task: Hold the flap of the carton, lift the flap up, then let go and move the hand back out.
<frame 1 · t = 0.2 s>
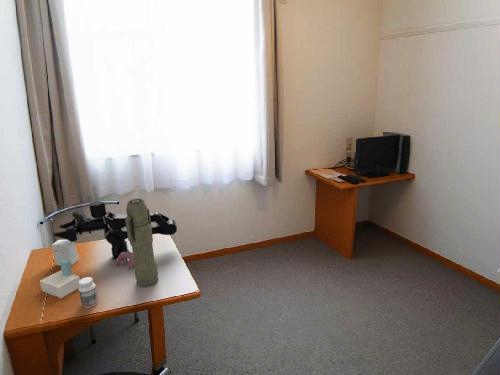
hand: (56, 230, 158), 17 cm above the table, tool horizontal, fingers open, 9 cm apart
pill bottle: (90, 304, 131), on the table
olive tall rounded piece: (147, 281, 145), on the table
small box: (67, 262, 164), on the table
flap: (58, 272, 140), point 7 cm above the table, hinge at 0.0°
video game controller: (127, 265, 159), on the table
carton: (61, 288, 142), on the table
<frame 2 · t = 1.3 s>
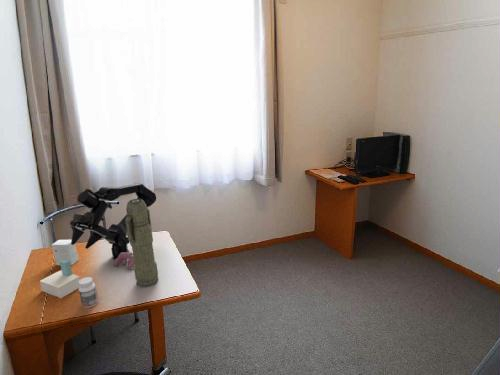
hand: (79, 246, 148), 14 cm above the table, tool tilted 45°, fingers open, 9 cm apart
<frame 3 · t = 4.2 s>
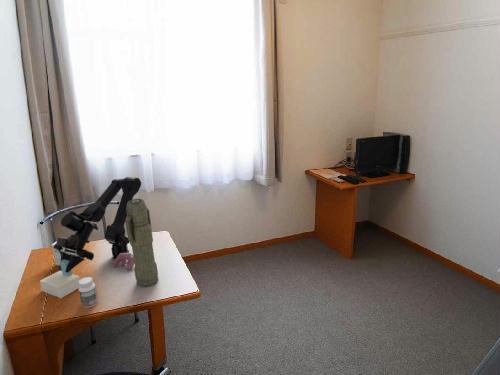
hand: (63, 271, 142), 7 cm above the table, tool tilted 45°, fingers closed on flap, 3 cm apart
flap: (58, 272, 140), point 7 cm above the table, hinge at 0.0°, touching gripper
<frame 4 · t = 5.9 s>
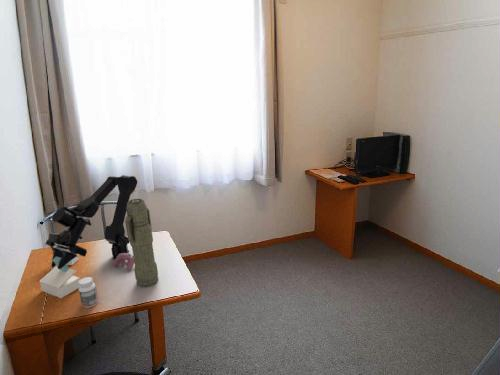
hand: (55, 267, 139), 10 cm above the table, tool tilted 45°, fingers closed on flap, 3 cm apart
flap: (54, 271, 139), point 9 cm above the table, hinge at 20.1°, touching gripper
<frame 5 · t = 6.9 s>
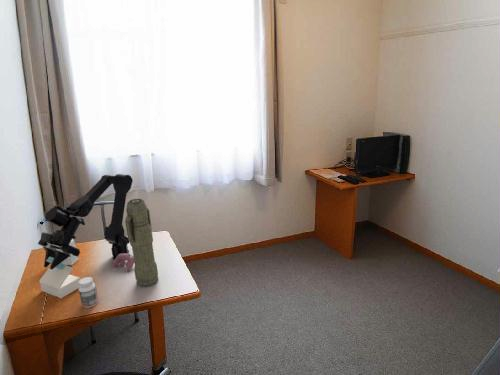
hand: (48, 268, 136), 11 cm above the table, tool tilted 45°, fingers closed on flap, 3 cm apart
flap: (50, 271, 137), point 9 cm above the table, hinge at 34.9°, touching gripper
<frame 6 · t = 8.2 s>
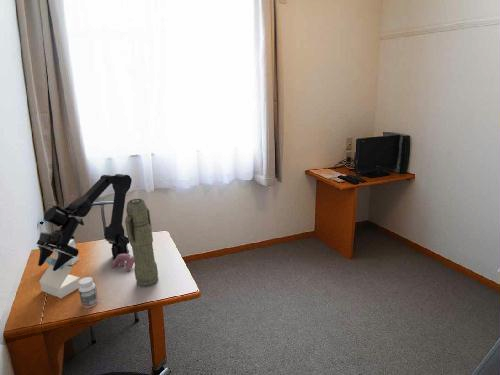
hand: (46, 268, 136), 11 cm above the table, tool tilted 45°, fingers open, 9 cm apart
flap: (49, 271, 137), point 9 cm above the table, hinge at 37.7°
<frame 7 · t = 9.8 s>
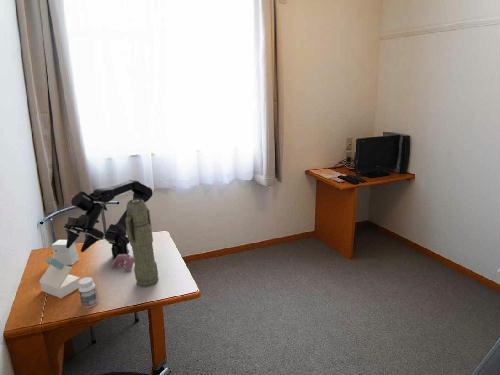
hand: (74, 249, 146), 13 cm above the table, tool tilted 45°, fingers open, 9 cm apart
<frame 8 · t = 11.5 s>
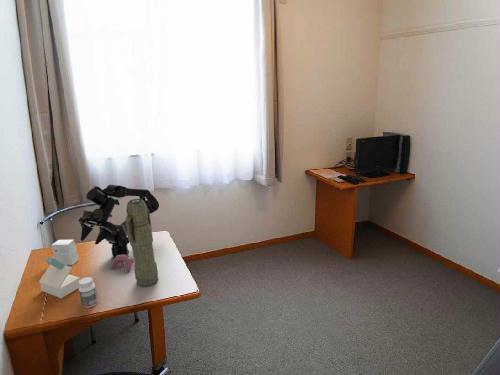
hand: (88, 242, 151), 14 cm above the table, tool tilted 45°, fingers open, 9 cm apart
at the end: flap at +38° (first picture: +0°); the gripper is holding nothing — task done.
